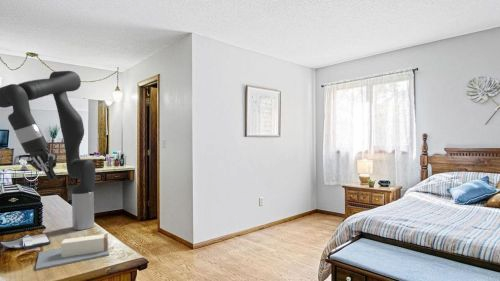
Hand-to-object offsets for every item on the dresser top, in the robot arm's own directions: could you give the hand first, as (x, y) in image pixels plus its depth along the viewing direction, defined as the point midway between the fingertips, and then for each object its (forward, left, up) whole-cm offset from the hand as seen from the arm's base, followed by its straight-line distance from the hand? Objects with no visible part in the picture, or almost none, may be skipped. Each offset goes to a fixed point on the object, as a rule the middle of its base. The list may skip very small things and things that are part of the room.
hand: (53, 179), depth 114 cm
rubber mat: (+9, +6, -28) cm, 30 cm away
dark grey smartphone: (-15, -7, -28) cm, 33 cm away
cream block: (+9, +3, -25) cm, 27 cm away
